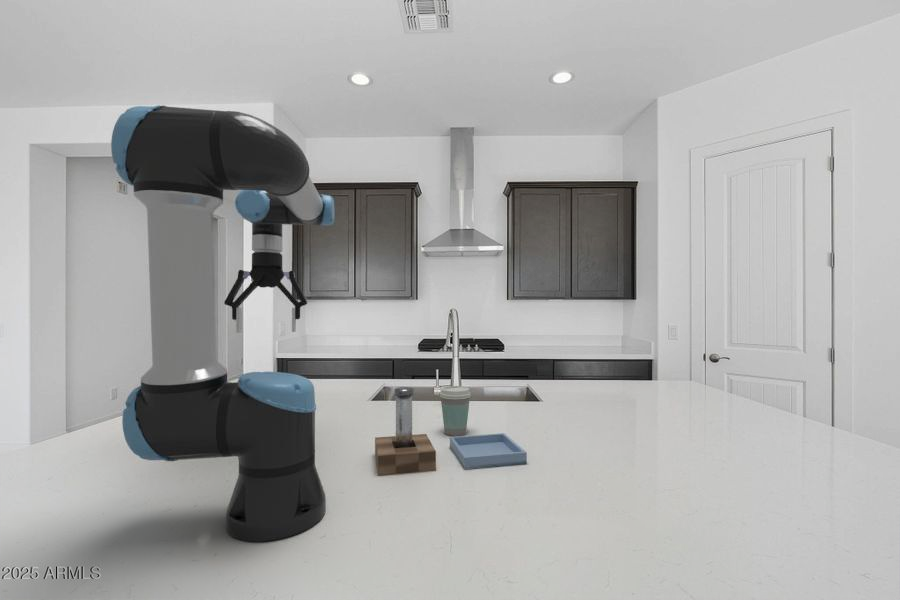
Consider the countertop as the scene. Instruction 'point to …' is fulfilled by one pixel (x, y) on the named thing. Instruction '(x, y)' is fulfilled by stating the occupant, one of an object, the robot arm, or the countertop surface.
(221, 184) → the robot arm
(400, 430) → the pin
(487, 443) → the tray
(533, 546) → the countertop surface
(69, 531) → the countertop surface
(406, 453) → the socket block
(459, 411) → the coffee cup
